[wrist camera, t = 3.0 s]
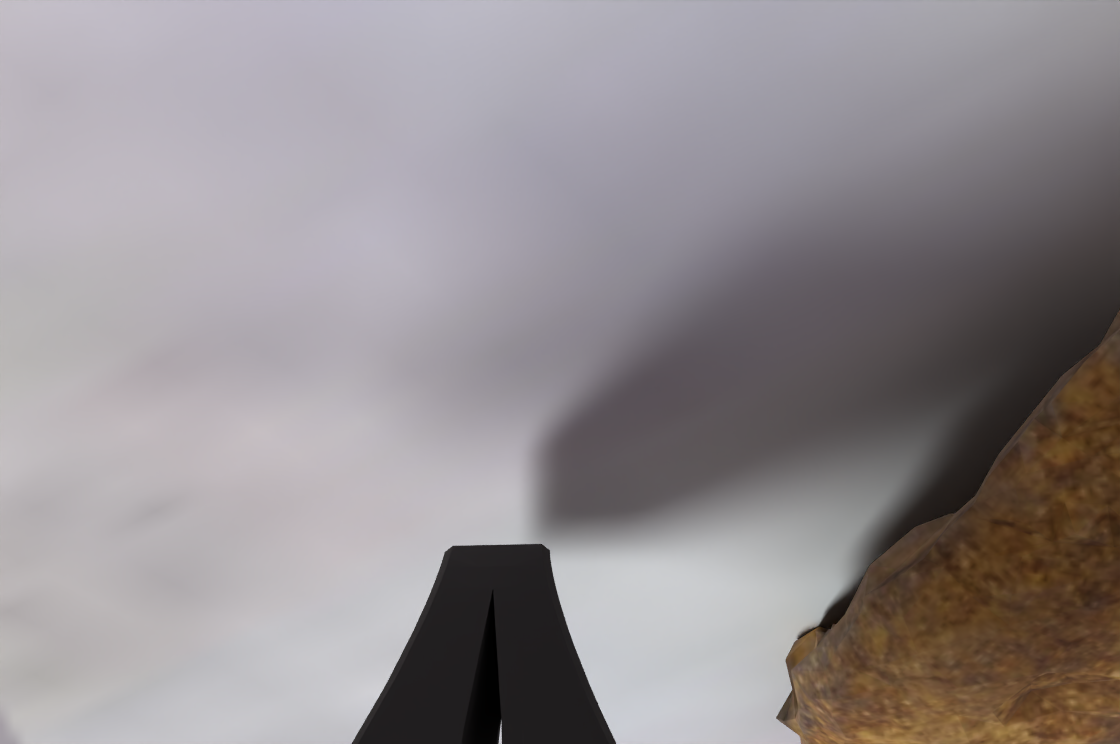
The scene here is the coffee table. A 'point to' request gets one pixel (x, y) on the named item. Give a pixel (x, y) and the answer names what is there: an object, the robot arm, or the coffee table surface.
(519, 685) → the robot arm
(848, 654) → the decorative rock
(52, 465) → the coffee table surface
